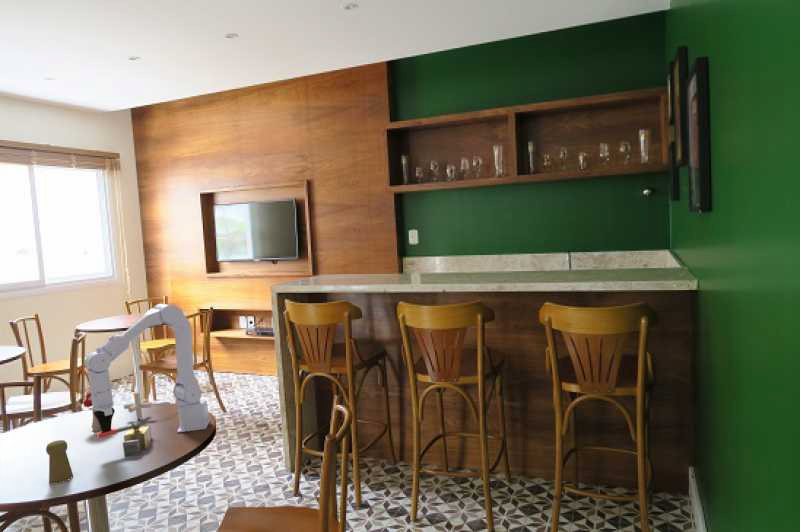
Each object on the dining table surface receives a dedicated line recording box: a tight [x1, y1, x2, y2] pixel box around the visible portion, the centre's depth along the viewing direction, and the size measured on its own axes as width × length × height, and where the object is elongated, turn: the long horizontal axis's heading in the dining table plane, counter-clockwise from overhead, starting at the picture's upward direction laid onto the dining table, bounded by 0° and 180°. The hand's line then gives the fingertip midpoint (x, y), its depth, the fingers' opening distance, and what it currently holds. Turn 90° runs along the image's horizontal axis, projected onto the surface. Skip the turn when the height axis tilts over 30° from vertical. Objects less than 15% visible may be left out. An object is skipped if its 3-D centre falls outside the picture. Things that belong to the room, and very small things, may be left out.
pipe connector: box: [123, 391, 153, 420], centre depth 211 cm, size 10×10×10 cm
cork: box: [45, 439, 74, 484], centre depth 162 cm, size 6×6×11 cm
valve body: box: [122, 424, 153, 457], centre depth 183 cm, size 6×14×6 cm, turn 9°
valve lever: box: [96, 421, 142, 440], centre depth 179 cm, size 12×3×1 cm, turn 128°
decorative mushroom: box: [83, 389, 102, 432], centre depth 204 cm, size 10×9×15 cm
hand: (106, 432), depth 178 cm, fingers closed
